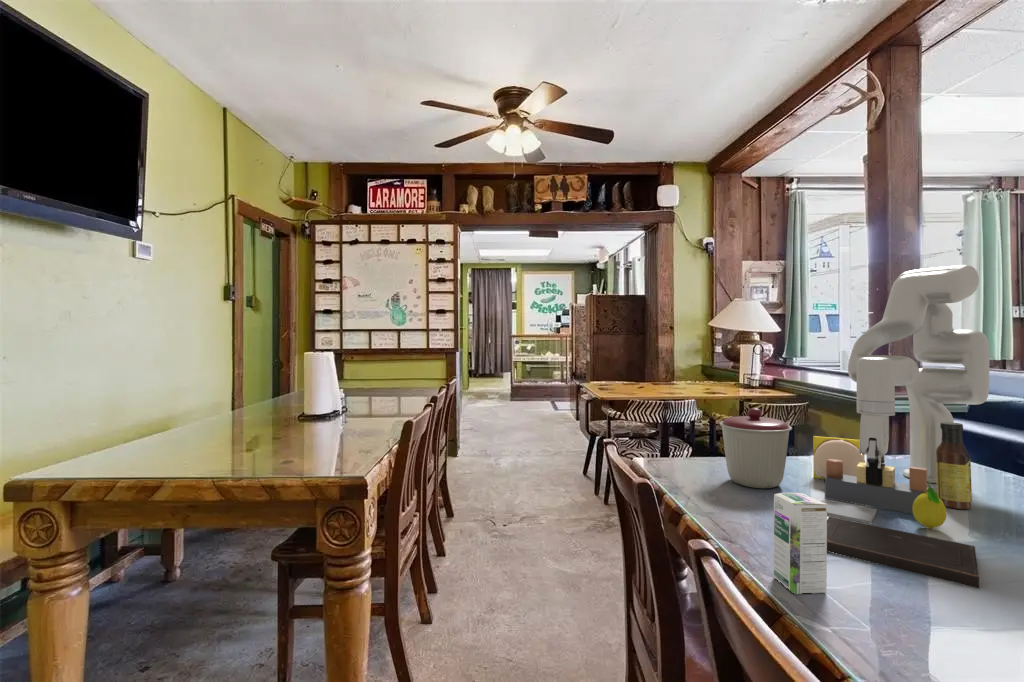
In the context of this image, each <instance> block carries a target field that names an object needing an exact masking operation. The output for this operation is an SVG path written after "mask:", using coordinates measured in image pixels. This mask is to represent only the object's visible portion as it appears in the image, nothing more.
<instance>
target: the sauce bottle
mask: <svg viewBox="0 0 1024 682" xmlns="http://www.w3.org/2000/svg"><path fill="white" fill-rule="evenodd" d="M940 428H941V429H942V438H941V439H942V442H941V444H940V445H939V446H938V447H937V449H936V459H937V460H936V479H937V483H936V493H937V495H938V498H940V499H941V500H942V502H943V503H944V505H945V508H950V509H955V510H968V509H971V508H972V501H973V492H972V490H973V489H972V469H971V468H972V467H971V466H972V465H971V464H972V463H971V462H972V461H971V456H970V455H969V452H968V450H967V448H966V446H965V444H964V438H963V431H964V425H963V423H960V422H954V423H953V422H942V423H940Z"/></svg>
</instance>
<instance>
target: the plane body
mask: <svg viewBox="0 0 1024 682" xmlns="http://www.w3.org/2000/svg"><path fill="white" fill-rule="evenodd" d="M908 469H909V477H908V478H909V484H907V483H901V482H895V484H894V486H893V488H889V487H882V486H876V485H870V484H864V483H858V482H857V476H850V475H844V474H843V461H841V460H836V459H827V460H826V476H827V477H826V478H825V479H824V499H828V500H833V501H838V502H844V503H849V504H850V503H851V504H855V503H856V504H855V505H860V506H866V505H867V506H866V507H871V506H873V507H874V508H876V509H882V508H883V510H888V511H894V512H899V513H904V514H910V515H913V510H912V509H913V503H914V501H915V499H916V498H917V497H918V496H919V495H920V494H921V493H923V492H925V491H927V489H928V482H927V469H926V468H919V467H912V466H910V465H909V468H908ZM873 507H872V508H873Z"/></svg>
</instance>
